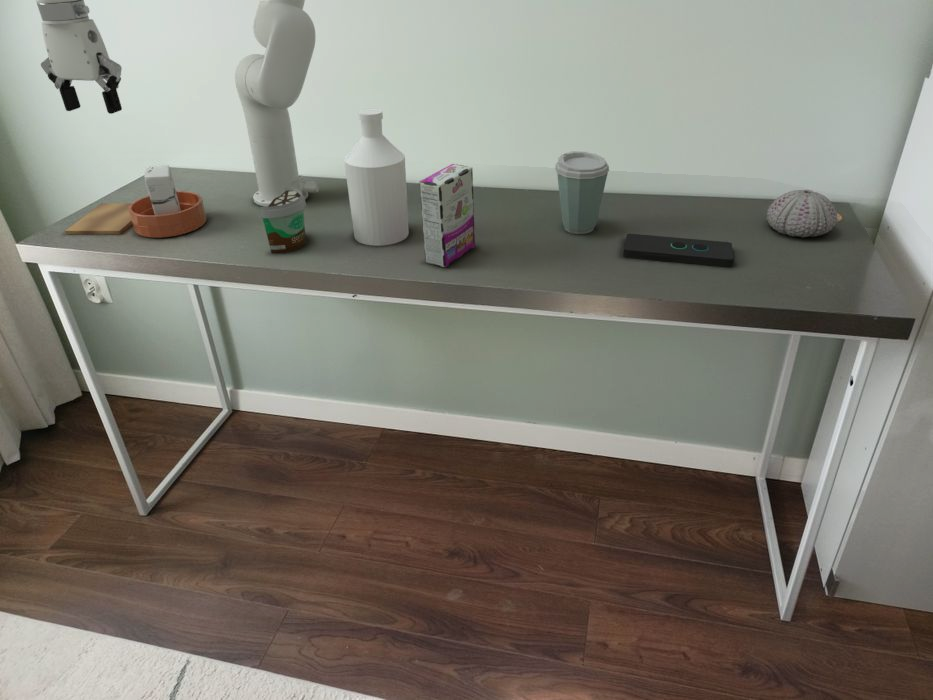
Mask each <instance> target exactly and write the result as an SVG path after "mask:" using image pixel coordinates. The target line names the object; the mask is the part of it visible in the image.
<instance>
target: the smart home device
mask: <svg viewBox="0 0 933 700" xmlns="http://www.w3.org/2000/svg"><path fill="white" fill-rule="evenodd" d="M622 257H624V258H630V259H640V260H648V261H660V262H672V263H682V264H691V265H692V264H693V265H701V266H712V267H723V268H732V267H733V262H734V251H733V243H732V242H729V241H718V240H709V239H708V240H707V239H697V238H685V237H674V236H664V235H663V236H661V235H651V234H642V233H641V234H639V233H626V236H625V241H624V245H623V253H622Z"/></svg>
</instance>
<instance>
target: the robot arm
mask: <svg viewBox="0 0 933 700" xmlns="http://www.w3.org/2000/svg"><path fill="white" fill-rule="evenodd" d="M305 1H306V0H259V3H258V5H257V9H256V13H255V16H254V20H253V27H252V30H253V36H254V38H255V39H256V41H257V43H258V44H259V45H261V46H262V47H264V49H265V51H264V54H260V53H251V54H248V55H245V56H244V57H243V58H241V59H240V61H239V62H238V63H237V65H236V68H235V72H234V82H235V89H236V91H237V94H238V98H239V100H240V101H239V102H240V104H241V107H242V111H243V115H244V118H245V123H246V128H247V134H248V140H249V144H250V150H251V155H252V160H253V166H254V170H255V172H254V173H255V176H256V182H257V188H258V190H257V191H255V192H254V194H253V195H252V198H253V199H252V200H253V202H254V203H255V204H256V205H257V206H260V207H268V206H269V204H270V203H271V202H272V201H273V200H274V199H275V198H277V197H279V196H281V195H282V194H283V193H284V192H285V187H291V188H295V189H298V190H299V191H300V192H301V194H302V195H303V197H304V199H305V200H307V199H308V197H309V193H310V194H311V193H312V194H313V193H318V192H319V184H317V183H316V182H315V181H306V180H304V177H303V175H300V174H299V169H298V168H299V167H298V162H297V156H296V150H295V144H294V136H293V129H292V123H291V117H290V113H289V109H288V108H290V107H293V105H294V104H295V103H296V102H297V100H298V99H299V97H300V95H301V93H302V90H303V88H304V83H305V81H306V78H307V74H308V71H309V68H310V64H311V60H312V57H313V53H314V51H315V46H316V38H317V37H316V28H315V23H314V22H313V20H312V18H311V17H310V15H309V14H308V13H307V12H306V11H305V10H304V6H305ZM35 2H36V7H37V8H38V9H37V10H38V11H39V12H38V13H39V14H40V18H41V21H42V22H41V28H42V35H43V40H44V45H45V49H46V53H47V56H48V57H46V58H45V59H44V60H43V61H42V62H41V63H40V67H41V69H42V70H43V71H44V73H45V74H46V75H47V77H48V80H50V81H51V82H52V83H53V84H54V87H55V89H56V90H58V91H59V93H60V96H61V99H62V102H63V105H64V109H65V111H66V112H71V111H74V110H78V109H80V108H81V103H80V99H79V97H78V93H77V91H76V88H75V86H74V85H72V82H73V81H88V82H90V81H91V82H92V81H93V82H96V84H98V85H99V86H100V88H101V89H102V90H103V91H102V92H101V94H102V95H101V96H102V98H103V101H104V105H105V109H106V112H107V113H108V114H109V115H110V114H111V115H113V114H115V113H118V112H120V111H122V109H123V108H122V103H121V100H120V96H119V94H118V89H119V87H120V85H119V84H120V82H121V80H122V77H121V76H122V66H121V64H119V63H118V62H116V61H114V60H113V59H111V58H110V56H109V53H108V50H107V48H106V45H105V43H104V40H103V37H102V35H101V32H100V31H99V28H98V26H97V24H96V22H95V20H94V19H92V18H91V19H90V17H89V14H90V8H89V6H88V5H86V4H85V1H84V0H35Z"/></svg>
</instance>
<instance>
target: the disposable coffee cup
mask: <svg viewBox="0 0 933 700" xmlns="http://www.w3.org/2000/svg"><path fill="white" fill-rule="evenodd" d="M557 158H558V159H557V162H556V163H555V167H554V170H555V172H556V175H557V185H558V192H559V204H560V211H561V218H562V219H561V221H562V225H563V228H564V231H565V232H568V233H570V234H574V235H587V234H589V233H592V232H593V231H594V230H595V227H596V225H597V222H598V217H599V213H600V209H601V204H602V200H603V195H604V192H605V187H606V182H607V178H608V173H609V172H610V166H609V164H608V162H607V160H606V159H605V158H604V157H602V156H601V155H598V154H596V153H592V152H588V151H569V152H565V153H563V154H561V155H560V156H559V157H557Z"/></svg>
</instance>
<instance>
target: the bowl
mask: <svg viewBox="0 0 933 700" xmlns="http://www.w3.org/2000/svg"><path fill="white" fill-rule="evenodd" d="M176 194H177V197H178V201H179V205H180V209H181V211H180V212H176V213H171V214H165V215H155V213H154V210H153V206H152V203H151V199H150V196H149V195H146V196H143V197H141V198H139V199H136V200H135V201H133V202H131V203H132V204H131V205H130V206H129V208H128V211H129V214H130V217H131V221H132V227H133V230H134V231H135V233H136V234H137V235H139V236H141V237H145V238H151V239H152V238H156V239H157V238H159V239H160V238H169V237H176V236H180V235H185V234H188V233H191V232H193V231H196V230H198V229H199V228H201V227H202V226H204V225H205V224H206V222H207V220H208V219H207V213H206V210H205V204H204V201H203V197H202V196H201V195H200V194H199V193H196V192H194V191H187V190H186V191H185V190H176Z"/></svg>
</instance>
